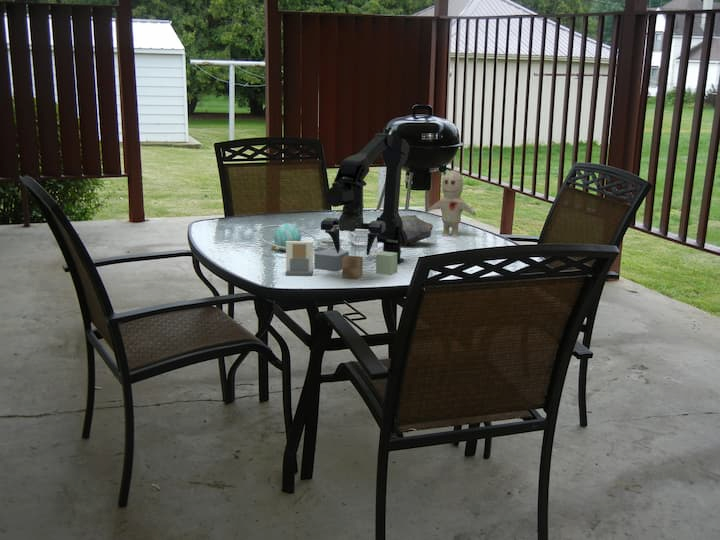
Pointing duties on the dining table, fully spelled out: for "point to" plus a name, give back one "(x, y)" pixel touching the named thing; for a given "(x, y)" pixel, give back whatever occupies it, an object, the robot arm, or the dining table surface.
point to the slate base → (329, 259)
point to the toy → (452, 202)
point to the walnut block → (352, 267)
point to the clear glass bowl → (285, 235)
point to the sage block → (386, 263)
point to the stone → (416, 228)
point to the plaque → (299, 258)
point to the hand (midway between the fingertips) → (352, 253)
